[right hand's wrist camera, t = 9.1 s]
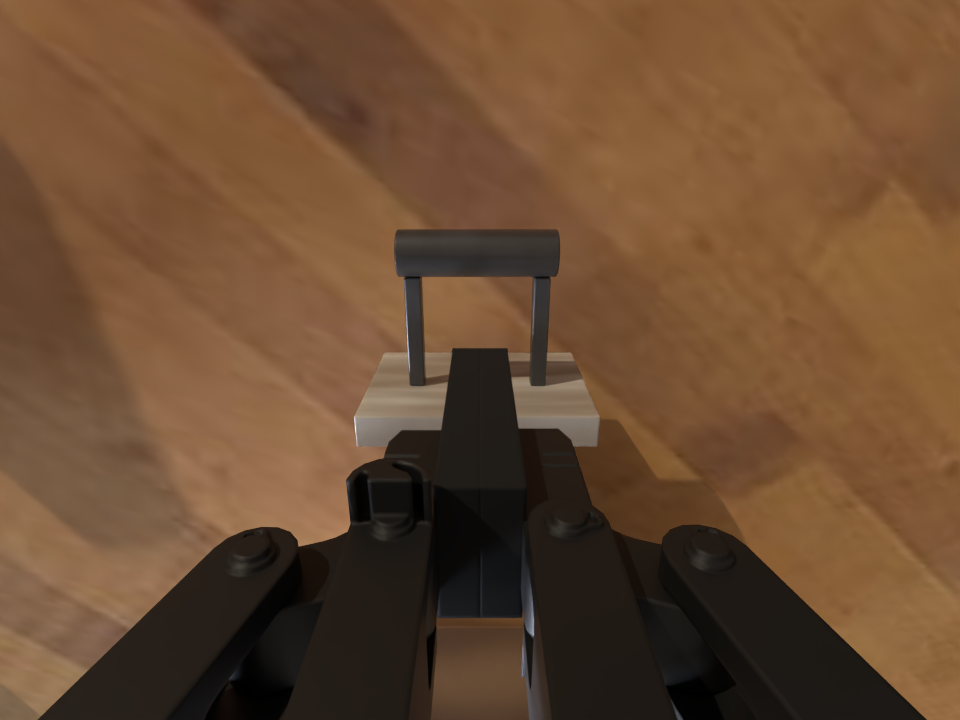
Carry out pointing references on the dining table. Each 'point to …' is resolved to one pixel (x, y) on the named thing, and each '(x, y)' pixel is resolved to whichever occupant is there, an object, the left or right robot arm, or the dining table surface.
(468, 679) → the cabinet
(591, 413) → the drawer
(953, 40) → the dining table surface
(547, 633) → the right robot arm
